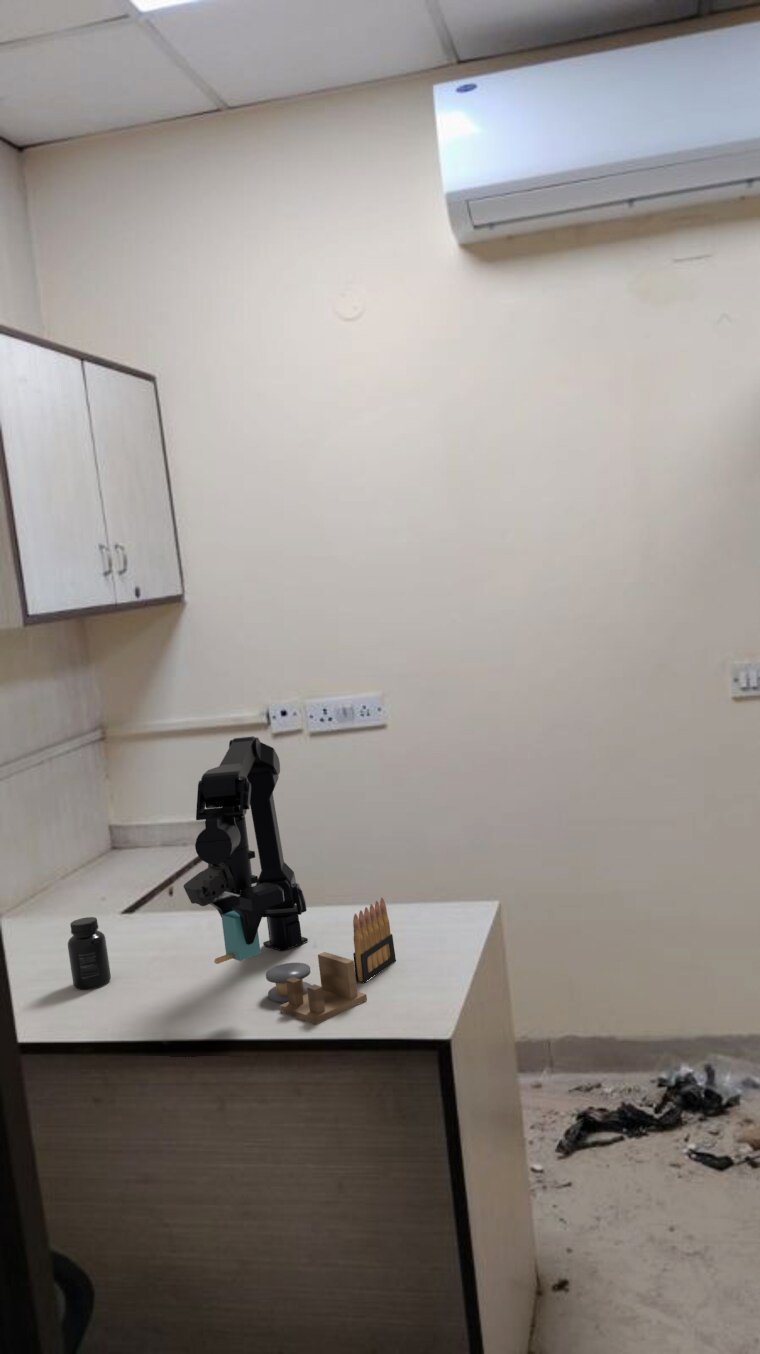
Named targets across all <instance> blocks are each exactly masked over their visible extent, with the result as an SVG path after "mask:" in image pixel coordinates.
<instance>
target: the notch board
mask: <svg viewBox="0 0 760 1354" xmlns="http://www.w3.org/2000/svg"><path fill="white" fill-rule="evenodd" d="M317 959H318V960H317V961H318V967H319V976H320V985H321V986H320V985H318V984H311V986H309V987H307V991H308V993H307V994H305V995H303V993H302V985H301V980H300V979H297V978H294V977H292V978H290V979H288V980H286V983H287V991H288V1000H289V1002H287V1003H281V1004H280V1005H279V1007H280V1012H282V1013H285V1014H287V1015H290V1016H292V1017H295V1018H298V1019H300V1020H303V1021H305V1022H309V1023H310V1024H314V1025H317V1024H319V1023H322V1022H324V1021H326V1020H328V1019H330V1018H332V1017H334V1016H337V1015H339V1014H341V1013H342V1012H345V1011H347V1010H349V1009H351V1008H354V1007H356V1006H357V1004H358V1005H360V1004H362V1003H364V1002H366V1001H367V1000H368V997H367V993H364V992H361V991H358V988H357V987H358V986H357V982H356V977H355V966H354V959H349V958H346V957H343V956H341V955H340V956H339V955H337V954H333V953H329V952H327V951H324V952H322V953H319V954H317ZM365 1000H366V1001H365ZM363 1001H364V1002H363ZM361 1002H362V1003H361ZM359 1003H360V1004H359ZM355 1005H356V1006H355Z"/></svg>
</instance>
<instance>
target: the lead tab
mask: <svg viewBox="0 0 760 1354" xmlns="http://www.w3.org/2000/svg"><path fill="white" fill-rule="evenodd" d="M221 916H222V918H221V924H222V932H223V933H222V934H223V940H224V946H225V947H224V949H225V954H224V955H221V956H219V957H216V958H215V959H214V961H213V962H214V964H216V965H218V964H221V963H225V962H227V961H230V960H232V959H233V960H235V961H239V962H242V961H244V960H247V959H250V958H252V957H255V956H257V955H260V954H261V946H260V938H259V929H258V930H257V933H256V936H255V939H254V942H253V943H252V944H250V945H247V944H246V941H245V937H244V933H243V928H242V923H241V919H240V915H239V914H238V913H236V912H235V911H231V912H228V913H225V914H222V915H221ZM221 916H220V917H221Z"/></svg>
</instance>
